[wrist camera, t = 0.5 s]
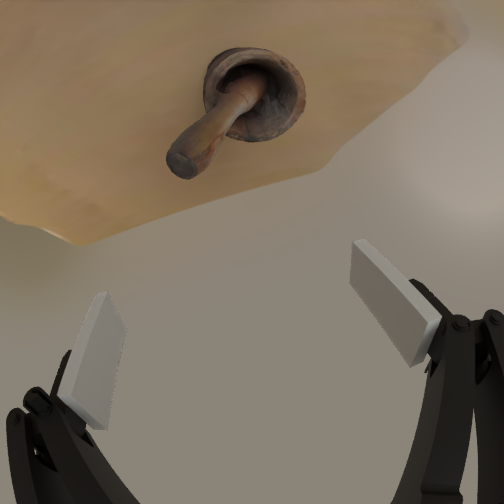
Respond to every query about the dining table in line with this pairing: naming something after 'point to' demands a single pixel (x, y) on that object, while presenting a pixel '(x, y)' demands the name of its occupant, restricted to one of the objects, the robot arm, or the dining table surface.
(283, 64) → the mortar and pestle
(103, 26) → the dining table surface
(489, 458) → the robot arm
